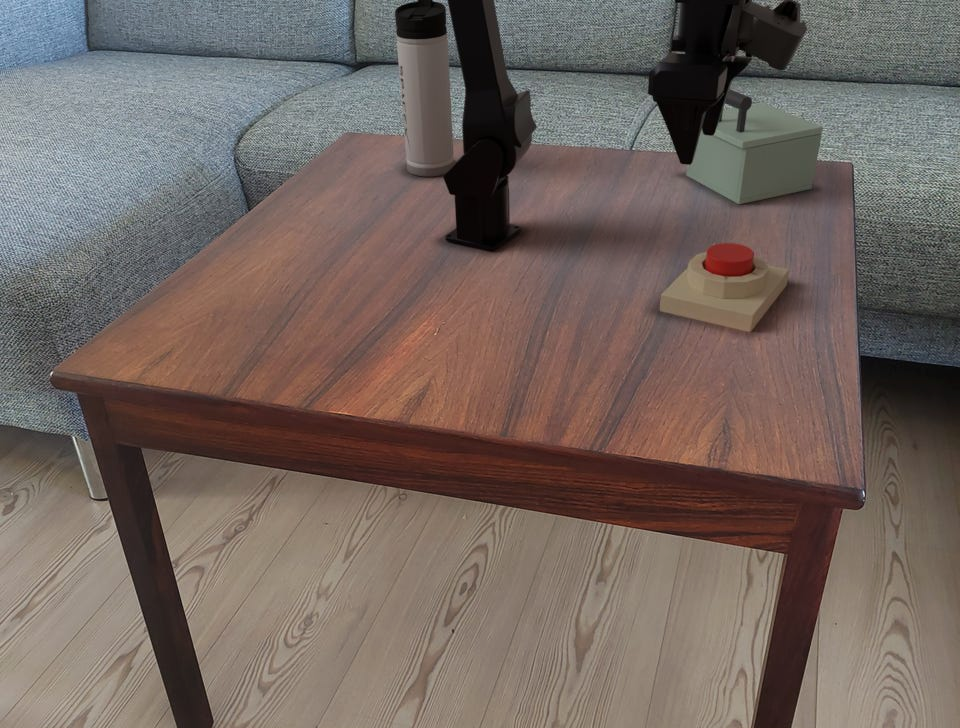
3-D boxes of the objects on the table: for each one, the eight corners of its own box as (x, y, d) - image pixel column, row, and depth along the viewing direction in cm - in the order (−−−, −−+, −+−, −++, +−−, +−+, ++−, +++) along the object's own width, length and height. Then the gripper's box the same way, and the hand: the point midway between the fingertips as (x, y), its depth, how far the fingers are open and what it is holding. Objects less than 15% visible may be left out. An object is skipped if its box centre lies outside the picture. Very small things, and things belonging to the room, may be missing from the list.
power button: (742, 282, 87) (745, 265, 86) (697, 273, 89) (699, 256, 88) (757, 264, 90) (760, 248, 89) (714, 256, 92) (716, 239, 91)
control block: (750, 332, 86) (755, 298, 84) (659, 311, 90) (662, 277, 88) (786, 285, 93) (792, 252, 91) (700, 267, 97) (704, 236, 95)
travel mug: (458, 160, 126) (451, -3, 114) (449, 177, 121) (439, 9, 109) (413, 159, 127) (401, -2, 115) (402, 176, 122) (388, 9, 110)
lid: (742, 149, 106) (748, 105, 103) (687, 123, 115) (691, 82, 112) (822, 133, 110) (830, 91, 107) (763, 109, 118) (768, 69, 115)
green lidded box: (738, 204, 110) (746, 148, 106) (685, 175, 119) (691, 122, 115) (811, 189, 114) (822, 134, 110) (755, 161, 122) (763, 109, 118)
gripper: (788, -3, 74) (761, 190, 83) (823, -42, 87) (796, 128, 97) (652, -8, 78) (640, 177, 87) (705, -44, 91) (690, 119, 101)
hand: (697, 148), depth 93 cm, fingers open, 9 cm apart
